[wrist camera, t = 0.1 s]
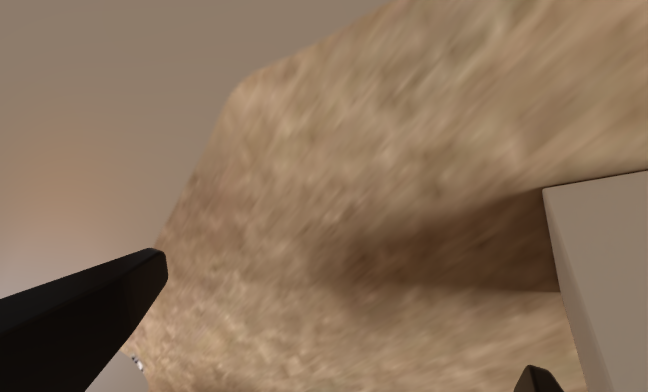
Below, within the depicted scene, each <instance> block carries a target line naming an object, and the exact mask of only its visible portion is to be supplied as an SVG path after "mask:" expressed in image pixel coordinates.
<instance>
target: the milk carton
mask: <svg viewBox="0 0 648 392" xmlns="http://www.w3.org/2000/svg"><path fill="white" fill-rule="evenodd" d="M542 195H543V201H544V207H545V212H546V217H547V223H548V228H549V233H550V239H551V244H552V250H553V255H554V260H555V266H556V271H557V277H558V282H559V287H560V292H561V295H562V299H563V302H564V306H565V310H566V313H567V317H568V320H569V324H570V328H571V331H572V335H573V338H574V342H575V345H576V349H577V353H578V356H579V360H580V363H581V367H582V370H583V374H584V378H585V381H586V385H587V388H588V392H648V171H643V172H637V173H631V174H625V175H619V176H614V177H608V178H602V179H596V180H590V181H585V182H579V183H573V184H567V185H561V186H555V187H550V188H544V189H543V190H542Z"/></svg>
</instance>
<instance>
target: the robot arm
mask: <svg viewBox="0 0 648 392" xmlns="http://www.w3.org/2000/svg"><path fill="white" fill-rule="evenodd" d="M167 280H168V269H167V262H166V256H165V254H164V252H163V251H160V250H157V249H154V248H147V249H143V250H141V251H138V252H135V253H132V254H129V255H126V256H123V257H120V258H118V259H115V260H112V261H109V262H106V263H103V264H100V265H97V266H94V267H92V268H89V269H86V270H83V271H80V272H77V273H74V274H71V275H68V276H65V277H63V278H60V279H57V280H54V281H51V282H48V283H46V284H42V285H39V286H37V287H34V288H31V289H28V290H25V291H22V292H19V293H16V294H13V295H11V296H8V297H5V298H2V299H0V392H85V390H86V389H87V388H88V387H89V386H90V384H91V383H92V382H93V381H94V379H95V378H96V377H97V376H98V375H99V373H100V372H101V371H102V370H103V368H104V367H105V366H106V365H107V364H108V362H109V361H110V360H111V359H112V358H113V356H114V355H115V354H116V353H117V352H118V350H119V349H120V348H121V347H122V345H123V344H124V343H125V342H126V341H127V339H128V338H129V337H130V335H131V334H132V333H133V332H134V330H135V329H136V327H137V326H138V325H139V323H140V322H141V320H142V319H143V317H144V316H145V314H146V313H147V311H148V310H149V308H150V307H151V305H152V304H153V302H154V301H155V299H156V298H157V296H158V295H159V293H160V292H161V290H162V289H163V287H164V286H165V284H166V282H167ZM514 392H564V391H563V390H562V388H561V387H560V385H559V384H558V382H557V381H556V379H555V378H554V376H553V375H552V374H551V373H550V372H549V371H548V370H546V369H543V368H540V367H536V366H533V365H528V366H526V367H525V369H524V371H523V373H522V375H521V377H520V379H519V380H518V382H517V384H516V386H515V388H514Z"/></svg>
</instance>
